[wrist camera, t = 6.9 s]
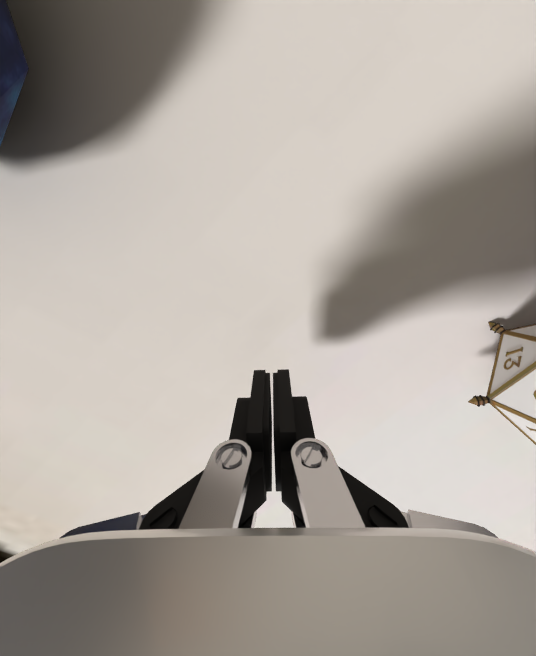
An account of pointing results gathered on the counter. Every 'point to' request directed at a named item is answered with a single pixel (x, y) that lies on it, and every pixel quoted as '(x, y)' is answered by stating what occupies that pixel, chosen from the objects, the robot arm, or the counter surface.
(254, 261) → the counter surface
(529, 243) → the counter surface
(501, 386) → the game die
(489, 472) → the counter surface
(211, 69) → the counter surface
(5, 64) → the decorative orb
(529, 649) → the robot arm
